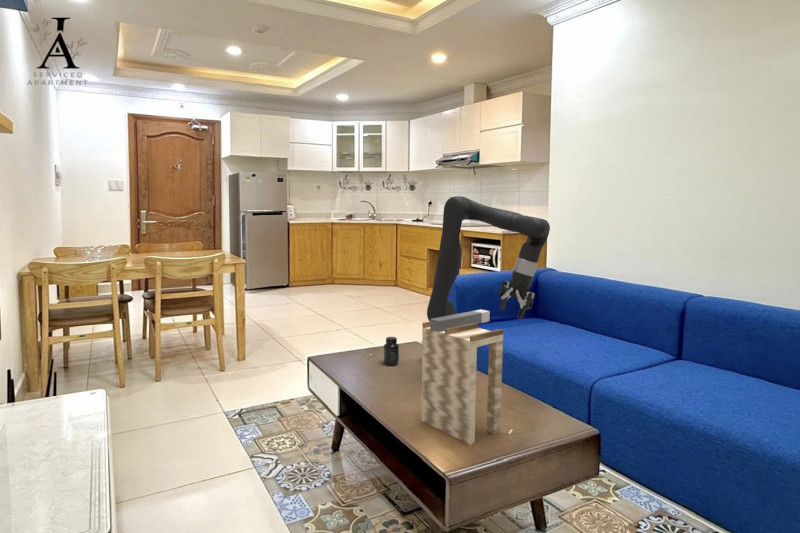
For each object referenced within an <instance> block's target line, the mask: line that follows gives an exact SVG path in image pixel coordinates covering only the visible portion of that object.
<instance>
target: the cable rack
mask: <svg viewBox="0 0 800 533" xmlns="http://www.w3.org/2000/svg"><path fill="white" fill-rule="evenodd" d="M421 331H422V332H421V335H422V336H421V337H422V341H421V344H422V345H421V346H422V347H421V352H422V353H421V419H420V421H421V422H423V423H425V424H427V425H429V426H431V427H433V428H435V429H438V430H439V431H441V432H444V433H445V434H448V435H450V436H451V437H453V438H456V439H458V440H460V441H462V442H464V443H466V444H468V445H472V444H475V439H476V438H475V436H476V435H475V434H476V433H475V432H476V430H475V428H476V397H477V396H476V395H477V394H476V391H477V390H476V388H477V355H478V351H477V350H478V348H479V347H483V346H487V345H488V367H487V370H488V372H487V376H488V377H487V403H486V407H487V408H486V432H487V433H490V434H492V435H496V434H499V433H500V432H501V412H502V388H503V386H502V384H503V383H502V381H503V356H504V355H503V352H504V351H503V350H504V349H503V348H504V329H502V328H500V329H498V328H497V329H495V330H489V329H486V328H485V329H484V328H481V327H479V324H478V323H472V324H467V325H463V326H458V327H453V328H449V329H445V331H442V332H437V331H433V330H430V321H425V322H422V330H421Z"/></svg>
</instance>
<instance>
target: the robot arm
mask: <svg viewBox="0 0 800 533" xmlns="http://www.w3.org/2000/svg"><path fill="white" fill-rule="evenodd" d="M442 216H443V217H442V228H441V229H442V231H441V238H440V243H439V250H438V254H437V258H436V266H435V273H434V279H433V284H432V290H431V295H430V298H429V302H428V305H427V310H426V316H427V317H426V318H427V320H428V322H430V319H433V318H438V317H444V316H449V315H454V314H457V310H456V307H455V305H454V303H453V302H452V301H451V300H449V296H450V292H451V289H452V287H453V286H454V284H455V282H456V279H457V278H458V275H459V272H460V270H461V264H462V263H461V262H462V257H463V251H462V250H463V249H462V246H461V245H462V244H461V239H460V237H461V236H460V235H461V234H460V233H461V228H462V224H463V221H465V220H469V221H478V222H482V223H485V224H488V225H490V226H493V227H495V228H498V229H499V230H505V231H509V232H512V233H519V234H521V235H524V236H526V237H527V238H526V239H525V240H526V241H525V242H523V243H522V245H521V248H520V250H519V253H518V257H517V259H516V262H515V264H514V267H513V270H512V274H511V276H510V280H509V281H506V280H503V281H502V283H501V287H500V289H499V290H498V296H499V297H500V298H501V300H500V303H499V309H500V310H502V311H504V310H505V309H506V306H507V304H508V299H510V298H514V299H515V300H517V302H518V303H519V306H520V307H519V309H518V312H517V315H516V318H517V319H523V318H524V317H525V314H526V310H532V308H533V304H534V301H535V298H536V293H535V292H530V291H529V289H530V288H531V286H532V282H533V280H534V277H535V274H536V270H537V266H538V262H539V259H540V256H541V253H542V249H543V247H544V246H545V244H546V242H547V240H548V237H549V235H550V231H551V226H550V223H549V221H547V220H546V219H545V218H540V217H537V216H536V217H535V216H534V217H533V216H529V215H525V214H521V213H519V212H515V211H511V210H506V209H502V208H497V207H493V206H488V205H485V204H481V203H479V202H477V201H475V200H472V199H470V198H468V197H466V196H460V195H459V196H458V195H457V196H456V195H455V196H451V197H449V198H448V199H447V200H446V201H445V203H444V206H443V215H442Z"/></svg>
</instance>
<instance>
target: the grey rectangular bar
mask: <svg viewBox="0 0 800 533" xmlns="http://www.w3.org/2000/svg"><path fill="white" fill-rule="evenodd" d="M490 313H491V312H490V310H486V309H482V308H480V309H477V310H476V309H475V310H470V311H467V312H466V311H465V312H460V313H456V314H454V315H449V316H444V317H438V318H433V319H430V321H429V322H430V330H433V331H437V332H442V331H445V329H449V328H453V327H458V326H463V325H467V324H472V323H478V325H479V324H484V323H488V322H490V315H491V314H490Z"/></svg>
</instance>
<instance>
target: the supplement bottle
mask: <svg viewBox="0 0 800 533" xmlns="http://www.w3.org/2000/svg"><path fill="white" fill-rule="evenodd" d="M397 339H398V338H397V337H395V336H387V337H386V338H385V343H384V345H383V365H385V366H386V365H387V367H395V365H396V366H398V365H399V364H400V345H399V344H398V340H397Z"/></svg>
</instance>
